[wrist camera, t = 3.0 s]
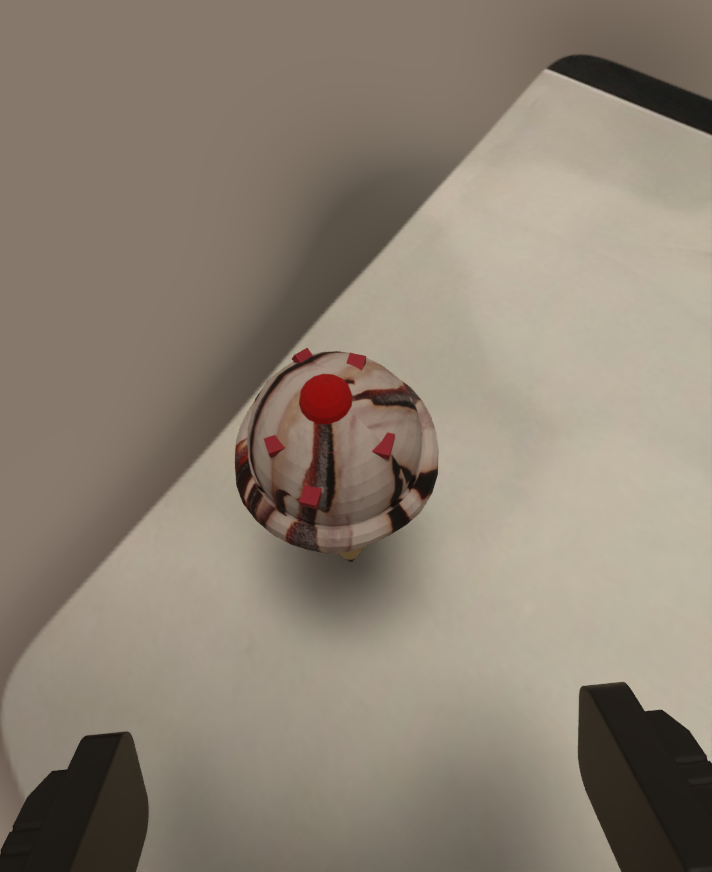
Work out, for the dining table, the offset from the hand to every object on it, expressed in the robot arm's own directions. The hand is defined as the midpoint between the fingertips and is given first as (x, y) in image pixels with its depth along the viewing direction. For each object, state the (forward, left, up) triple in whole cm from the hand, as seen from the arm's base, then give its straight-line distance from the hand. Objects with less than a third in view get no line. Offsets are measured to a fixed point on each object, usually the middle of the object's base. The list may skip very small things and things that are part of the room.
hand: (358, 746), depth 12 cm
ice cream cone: (+2, +7, -15) cm, 17 cm away
